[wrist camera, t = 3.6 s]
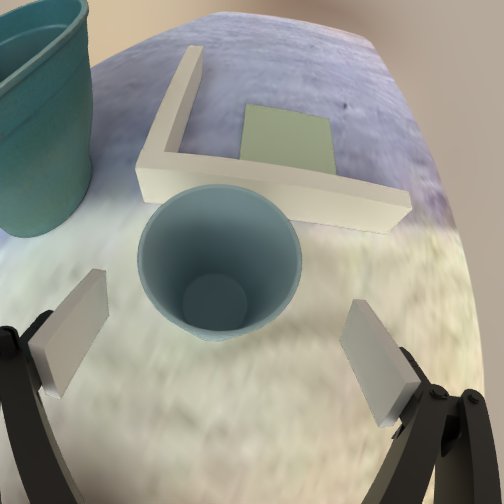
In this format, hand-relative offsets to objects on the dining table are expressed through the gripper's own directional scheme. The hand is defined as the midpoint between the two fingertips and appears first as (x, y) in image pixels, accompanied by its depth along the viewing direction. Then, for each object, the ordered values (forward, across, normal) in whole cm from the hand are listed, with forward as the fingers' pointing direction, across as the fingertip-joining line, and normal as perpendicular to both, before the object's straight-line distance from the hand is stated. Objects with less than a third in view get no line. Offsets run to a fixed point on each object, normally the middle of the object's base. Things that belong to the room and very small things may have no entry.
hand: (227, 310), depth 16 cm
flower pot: (+14, -20, +2) cm, 24 cm away
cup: (+7, -1, -4) cm, 8 cm away
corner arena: (+20, +3, +9) cm, 22 cm away
